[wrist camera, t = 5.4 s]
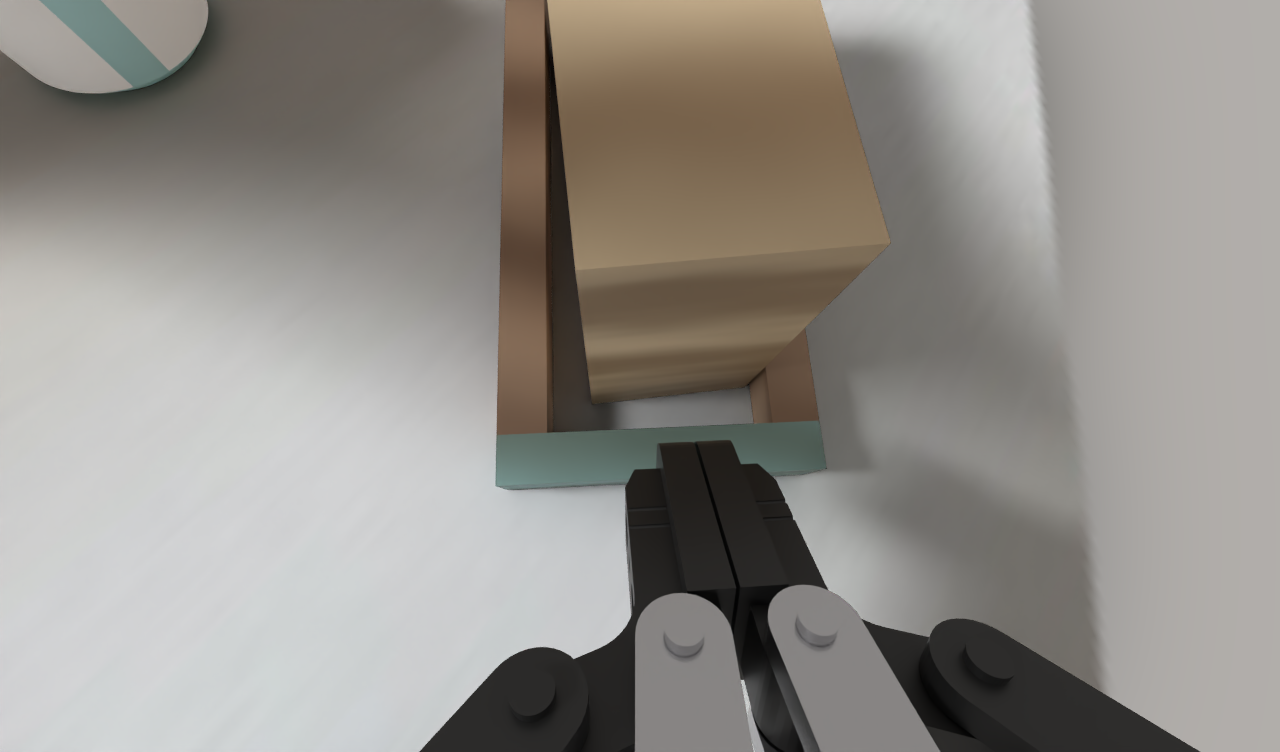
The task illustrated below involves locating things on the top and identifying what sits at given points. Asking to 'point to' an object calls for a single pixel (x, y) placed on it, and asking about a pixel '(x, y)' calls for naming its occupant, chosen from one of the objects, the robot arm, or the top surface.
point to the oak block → (705, 185)
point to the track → (526, 336)
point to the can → (101, 40)
